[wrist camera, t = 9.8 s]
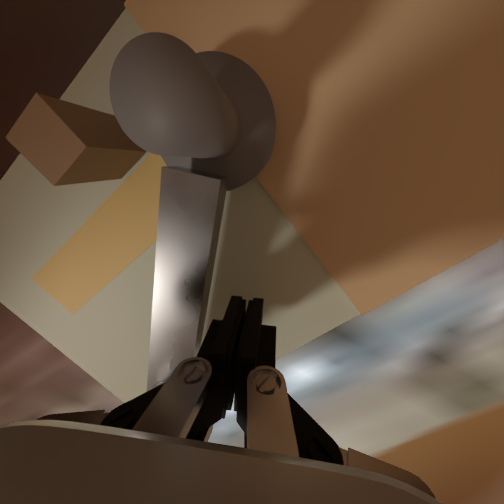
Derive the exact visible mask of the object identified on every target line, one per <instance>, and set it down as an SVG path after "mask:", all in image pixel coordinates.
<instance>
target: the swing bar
mask: <svg viewBox="0 0 504 504" xmlns="http://www.w3.org/2000/svg"><path fill="white" fill-rule="evenodd" d="M228 179H229V177H225V176H221V175H216V174H212V173H207V172H203V171H199V170H194V169H190V168H185V167H181V166H164V167H161V182H160V197H159V212H158V227H157V242H156V257H155V273H154V288H153V303H152V318H151V333H150V348H149V363H148V378H147V391H149V390H151V389H153V388H155V387H157V386H159V385H161V384H163V383H165V382H166V381H167V379H168V378H169V376H170V375H171V374H172V372H173V371H174V369H175V368H176V367H177V365H178V364H179V363H180V362H182V361H183V360H185V359H188V358H190V357H196V356H197V354H198V352H199V349H200V347H201V342H202V336H203V330H204V324H205V318H206V312H207V306H208V300H209V293H210V287H211V281H212V275H213V269H214V263H215V257H216V251H217V245H218V239H219V233H220V227H221V221H222V215H223V209H224V203H225V197H226V191H227V185H228Z"/></svg>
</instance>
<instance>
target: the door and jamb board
mask: <svg viewBox="0 0 504 504" xmlns="http://www.w3.org/2000/svg"><path fill="white" fill-rule="evenodd" d="M123 5H124V6H125V7H126V8H125V10H124V11H123V12H122V14H121V15H120V17H119V18H118V19H117V21H116V22H115V23H114V25H113V26H112V28H111V29H110V30H109V32H108V33H107V34H106V36H105V37H104V39H103V40H102V41H101V43H100V44H99V45H98V47H97V48H96V50H95V51H94V52H93V54H92V55H91V56H90V58H89V59H88V61H87V62H86V63H85V65H84V66H83V67H82V69H81V70H80V72H79V73H78V74H77V76H76V77H75V78H74V80H73V81H72V83H71V84H70V85H69V87H68V88H67V89H66V91H65V92H64V94H63V95H62V96H61V98H60V99H57V98H54V97H50V96H47V95H43V94H40V93H37V92H36V93H35V95H34V96H33V98H32V99H31V101H30V102H29V104H28V105H27V106H26V108H25V109H24V111H23V112H22V114H21V115H20V117H19V118H18V120H17V121H16V123H15V124H14V126H13V127H12V128H11V130H10V131H9V133H8V134H7V136H6V137H5V138H6V139H7V140H8V141H9V142H10V143H11V144H12V145H13V146H14V147H15V148H16V149H17V150H18V151H19V152H20V154H19V155H18V157H17V158H16V160H15V161H14V162H13V164H12V165H11V166H10V168H9V169H8V171H7V172H6V173H5V175H4V176H3V177H2V179H1V180H0V302H1V303H2V304H3V305H4V306H6V307H7V308H8V309H9V310H11V311H12V312H13V313H14V314H16V315H17V316H18V317H19V318H20V319H22V320H23V321H24V322H25V323H27V324H28V325H29V326H30V327H32V328H33V329H34V330H35V331H36V332H38V333H39V334H40V335H41V336H43V337H44V338H45V339H46V340H48V341H49V342H50V343H51V344H52V345H54V346H55V347H56V348H57V349H59V350H60V351H61V352H62V353H64V354H65V355H66V356H67V357H68V358H70V359H71V360H72V361H73V362H75V363H76V364H77V365H78V366H80V367H81V368H82V369H83V370H84V371H86V372H87V373H88V374H89V375H91V376H92V377H93V378H94V379H96V380H97V381H98V382H99V383H100V384H102V385H103V386H104V387H105V388H107V389H108V390H109V391H110V392H112V393H113V394H114V395H115V396H116V397H118V398H119V399H120V400H121V401H123V402H124V403H126V402H128V401H130V400H132V399H134V398H136V397H138V396H139V395H141V394H143V393H145V392H147V378H148V363H149V348H150V333H151V318H152V303H153V288H154V273H155V257H156V242H157V227H158V212H159V197H160V182H161V167H164V166H181V167H185V168H190V169H194V170H199V171H203V172H207V173H212V174H216V175H221V176H225V177H229V179H228V185H227V191H226V197H225V203H224V209H223V215H222V221H221V227H220V233H219V239H218V245H217V251H216V257H215V263H214V269H213V275H212V281H211V287H210V293H209V300H208V306H207V312H206V318H205V324H204V330H203V336H202V342H203V340H204V338H205V336H206V333H207V331H208V329H209V326H210V324H211V322H212V320H213V319H217V320H223V317H224V315H225V312H226V309H227V307H228V304H229V301H230V299H231V296H232V295H233V296H242V298H243V299H245V300H246V310H247V306H248V302H249V300H253V298H262V299H264V303H263V317H262V325H270V326H276V359H275V360H277V359H279V358H280V357H282V356H284V355H286V354H288V353H290V352H291V351H293V350H295V349H297V348H299V347H300V346H302V345H304V344H306V343H308V342H310V341H311V340H313V339H315V338H317V337H319V336H320V335H322V334H324V333H326V332H328V331H330V330H331V329H333V328H335V327H337V326H339V325H340V324H342V323H344V322H346V321H348V320H350V319H351V318H353V317H355V316H357V315H359V314H361V315H364V314H366V313H367V312H369V311H371V310H373V309H375V308H377V307H378V306H380V305H382V304H384V303H386V302H388V301H389V300H391V299H393V298H395V297H397V296H399V295H400V294H402V293H404V292H406V291H408V290H410V289H411V288H413V287H415V286H417V285H419V284H421V283H422V282H424V281H426V280H428V279H430V278H432V277H433V276H435V275H437V274H439V273H441V272H443V271H444V270H446V269H448V268H450V267H452V266H454V265H455V264H457V263H459V262H461V261H463V260H465V259H466V258H468V257H470V256H472V255H474V254H476V253H477V252H479V251H481V250H483V249H485V248H487V247H488V246H490V245H492V244H494V243H496V242H498V241H499V240H501V239H503V238H504V0H126V1H125V3H124V4H123ZM202 342H201V345H202Z"/></svg>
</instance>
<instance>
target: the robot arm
mask: <svg viewBox="0 0 504 504" xmlns="http://www.w3.org/2000/svg"><path fill="white" fill-rule="evenodd" d="M263 303H264V299H262V298H253V300H249V302H248V306H247V310H246V300H245V299H243V298H242V296H233V295H232V296H231V299H230V301H229V304H228V307H227V309H226V312H225V315H224V317H223V320H217V319H213V320H212V322H211V324H210V326H209V329H208V331H207V333H206V336H205V338H204V340H203V342H202V345H201V347H200V349H199V352H198V354H197V356H196V357H190V358H188V359H185V360H183V361H182V362H180V363H179V364H178V365H177V367H176V368H175V369H174V371H173V372H172V374H171V375H170V376H169V378H168V379H167V381H166V382H165V383H163V384H161V385H159V386H157V387H155V388H153V389H151V390H149V391H147V392H145V393H143V394H141V395H139V396H138V397H136V398H134V399H132V400H130V401H128V402H126V403H124V404H122V405H120V406H118V407H117V408H115V409H114V410H112V411H111V412H110V413H106V412H105V410H96V411H84V412H73V413H61V414H51V415H46V416H43V417H41V418H39V419H37V420H29V421H19V422H12V423H8V424H3V425H0V504H443V503H441V502H440V501H438V500H436V498H435V496H434V494H433V493H432V491H431V490H430V488H429V487H428V486H427V485H426V484H425V483H424V482H423V481H422V480H421V479H420V478H419V477H418V476H416V475H414V474H412V473H411V472H408V471H406V470H404V469H401V468H399V467H396V466H394V465H391V464H388V463H386V462H383V461H381V460H378V459H376V458H373V457H371V456H368V455H366V454H363V453H361V452H358V451H356V450H353V449H351V448H348V451H347V450H344V449H342V448H339V447H338V445H337V444H336V442H335V441H334V440H333V439H332V438H331V437H330V436H329V435H328V434H327V433H326V432H325V431H324V430H323V429H322V428H321V427H320V426H319V425H318V424H317V423H316V422H315V420H314V419H313V418H312V417H311V416H310V415H309V414H308V413H307V412H306V411H305V410H304V409H303V408H302V407H301V406H300V405H299V404H298V403H297V402H296V401H295V400H294V399H293V398H292V397H291V396H290V395H289V394H288V393H287V388H286V383H285V379H284V377H283V375H282V374H281V372H280V371H278V370H277V369H276V368H275V359H276V326H270V325H262V317H263ZM234 393H235V400H234V411H237V423H238V424H239V425H240V427H241V428H242V430H243V431H244V448H241V447H235V446H228V445H222V444H216V443H210V442H208V440H209V437H210V435H211V432H212V429H213V424H214V423H216V422H217V421H219V420H220V419H221V418H225V414H226V410H231V407H232V403H233V398H234Z"/></svg>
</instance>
